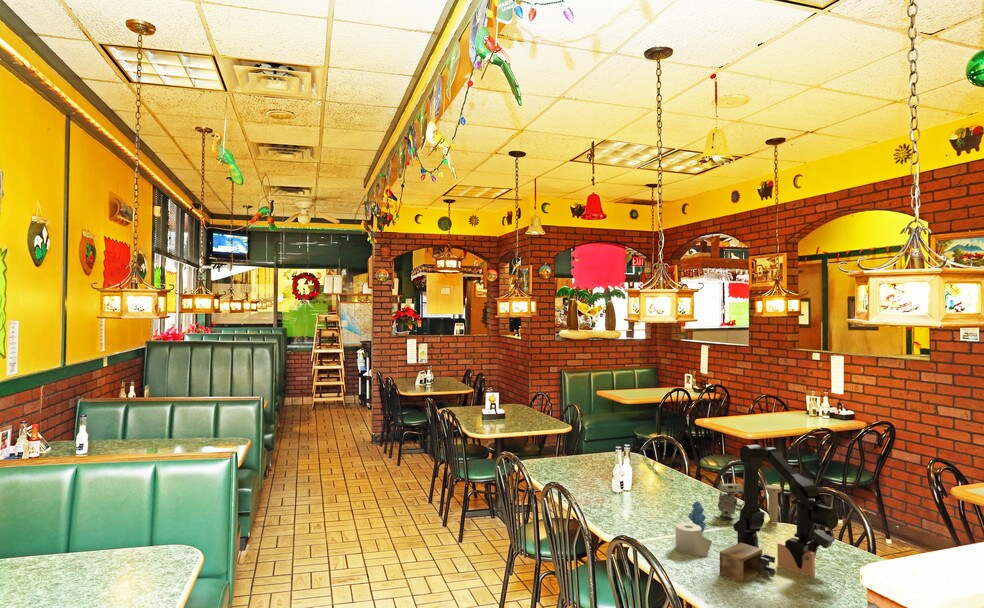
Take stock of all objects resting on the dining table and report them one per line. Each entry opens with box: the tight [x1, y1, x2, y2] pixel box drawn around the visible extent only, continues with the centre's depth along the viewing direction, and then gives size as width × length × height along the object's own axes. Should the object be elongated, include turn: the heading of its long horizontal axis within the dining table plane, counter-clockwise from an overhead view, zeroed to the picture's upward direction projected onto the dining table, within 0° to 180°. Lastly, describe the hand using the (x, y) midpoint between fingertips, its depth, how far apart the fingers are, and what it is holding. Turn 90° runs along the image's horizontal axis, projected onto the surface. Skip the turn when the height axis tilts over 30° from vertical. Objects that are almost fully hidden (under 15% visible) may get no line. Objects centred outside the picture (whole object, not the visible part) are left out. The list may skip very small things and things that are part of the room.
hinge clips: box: [758, 553, 776, 579], centre depth 207 cm, size 4×5×6 cm
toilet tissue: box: [675, 522, 713, 557], centre depth 228 cm, size 9×13×9 cm
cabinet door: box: [776, 541, 816, 578], centre depth 210 cm, size 12×2×8 cm, turn 39°
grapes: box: [687, 500, 707, 534], centre depth 249 cm, size 12×7×12 cm, turn 178°
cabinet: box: [719, 542, 763, 584], centre depth 207 cm, size 8×14×8 cm, turn 129°
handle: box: [764, 484, 782, 523], centre depth 262 cm, size 5×6×15 cm
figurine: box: [717, 482, 744, 521], centre depth 267 cm, size 9×12×15 cm
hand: (805, 565), depth 208 cm, fingers open, 9 cm apart
